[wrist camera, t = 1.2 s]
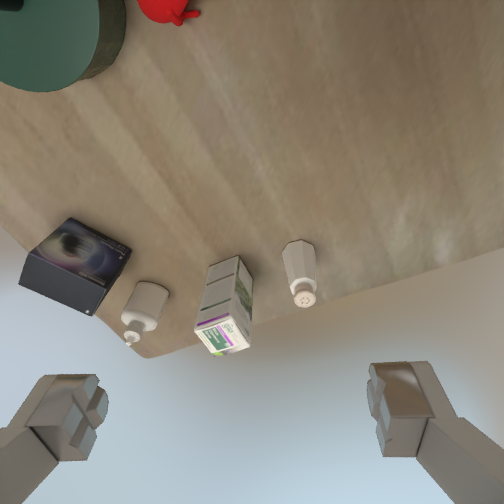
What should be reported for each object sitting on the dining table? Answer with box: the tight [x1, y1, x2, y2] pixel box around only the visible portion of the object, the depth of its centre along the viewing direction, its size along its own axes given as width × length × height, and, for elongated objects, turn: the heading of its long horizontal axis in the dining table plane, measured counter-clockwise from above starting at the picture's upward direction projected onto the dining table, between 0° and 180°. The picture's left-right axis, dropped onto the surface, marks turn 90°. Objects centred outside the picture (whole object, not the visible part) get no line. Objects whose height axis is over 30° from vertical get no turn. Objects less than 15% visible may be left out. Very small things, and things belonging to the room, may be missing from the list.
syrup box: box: [194, 256, 253, 357], centre depth 49 cm, size 6×6×14 cm
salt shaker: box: [282, 240, 317, 308], centre depth 48 cm, size 5×5×11 cm
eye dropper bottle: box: [121, 282, 169, 346], centre depth 53 cm, size 4×6×12 cm
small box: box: [18, 218, 132, 316], centre depth 49 cm, size 11×6×10 cm, turn 57°
